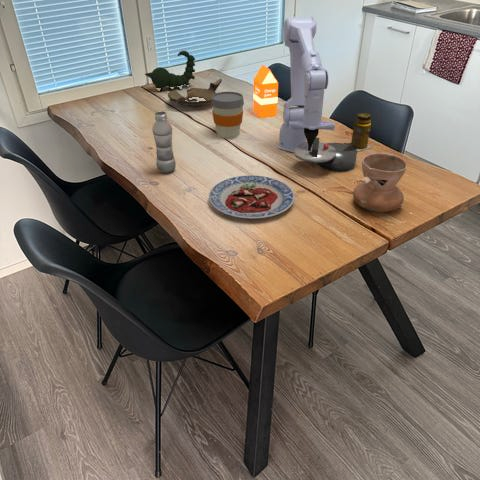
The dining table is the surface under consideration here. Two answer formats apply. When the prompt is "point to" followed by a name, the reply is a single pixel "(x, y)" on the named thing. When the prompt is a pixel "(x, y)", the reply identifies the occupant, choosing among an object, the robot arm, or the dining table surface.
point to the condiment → (361, 131)
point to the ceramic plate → (251, 197)
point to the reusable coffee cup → (227, 113)
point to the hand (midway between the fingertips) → (309, 149)
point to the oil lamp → (195, 95)
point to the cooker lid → (315, 152)
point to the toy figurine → (165, 78)
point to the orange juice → (265, 93)
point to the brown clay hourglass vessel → (380, 182)
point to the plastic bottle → (163, 143)
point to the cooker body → (341, 158)
